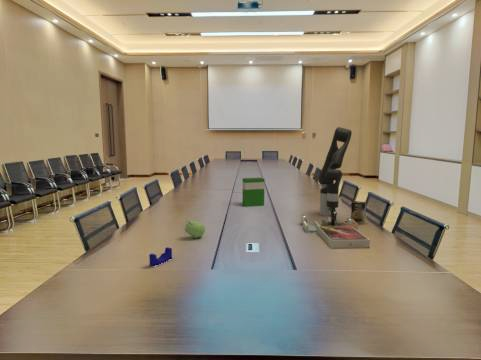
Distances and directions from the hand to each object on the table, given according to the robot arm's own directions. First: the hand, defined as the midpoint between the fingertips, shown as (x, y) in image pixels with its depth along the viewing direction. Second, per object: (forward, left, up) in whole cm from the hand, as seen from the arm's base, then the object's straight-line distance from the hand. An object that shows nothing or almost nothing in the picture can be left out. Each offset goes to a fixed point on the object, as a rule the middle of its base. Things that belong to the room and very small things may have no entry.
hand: (331, 225), depth 219 cm
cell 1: (-13, -16, -3) cm, 21 cm away
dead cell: (0, +12, -2) cm, 12 cm away
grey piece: (0, 0, -3) cm, 3 cm away
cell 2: (0, 0, -1) cm, 1 cm away
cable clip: (+57, -99, -4) cm, 115 cm away
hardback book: (-74, -50, -4) cm, 89 cm away
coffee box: (-14, +22, -4) cm, 26 cm away
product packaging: (+20, +1, -4) cm, 21 cm away
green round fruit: (+18, -88, -4) cm, 90 cm away
